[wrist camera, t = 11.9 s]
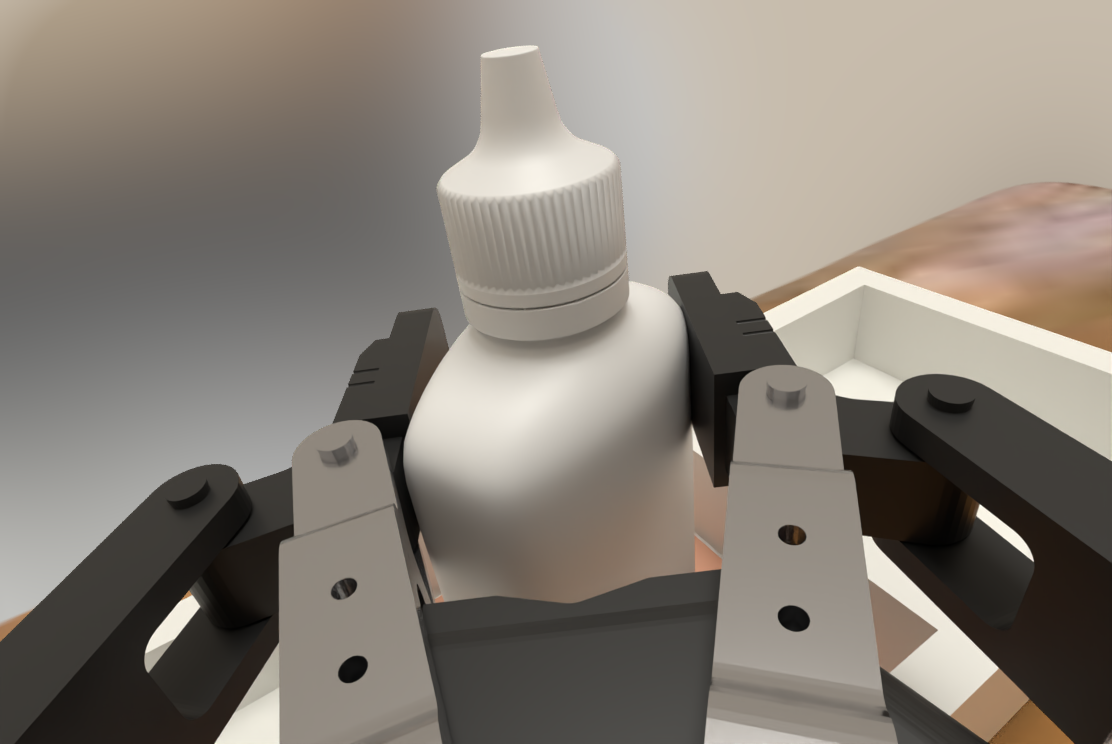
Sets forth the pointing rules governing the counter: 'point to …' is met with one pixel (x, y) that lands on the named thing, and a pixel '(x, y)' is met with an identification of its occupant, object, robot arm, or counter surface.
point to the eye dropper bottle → (549, 372)
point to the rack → (897, 603)
